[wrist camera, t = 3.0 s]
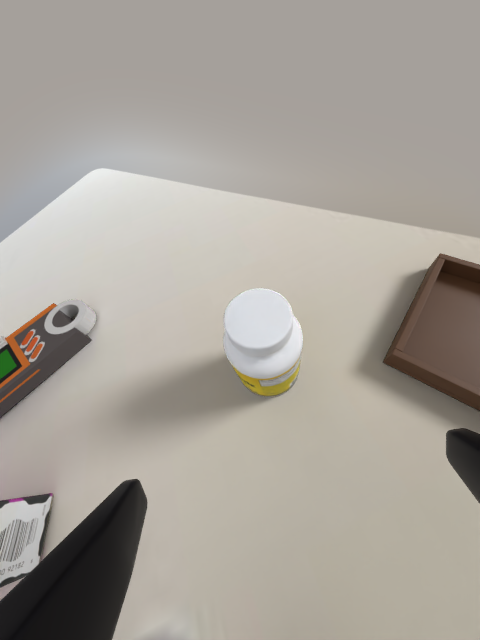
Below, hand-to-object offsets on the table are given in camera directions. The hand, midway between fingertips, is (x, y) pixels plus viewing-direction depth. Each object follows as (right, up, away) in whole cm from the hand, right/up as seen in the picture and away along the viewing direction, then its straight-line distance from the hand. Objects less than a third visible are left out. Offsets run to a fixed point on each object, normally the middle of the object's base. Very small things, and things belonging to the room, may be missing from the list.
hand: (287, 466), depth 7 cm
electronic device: (-24, 0, +20) cm, 31 cm away
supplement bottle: (+1, 0, +15) cm, 15 cm away
